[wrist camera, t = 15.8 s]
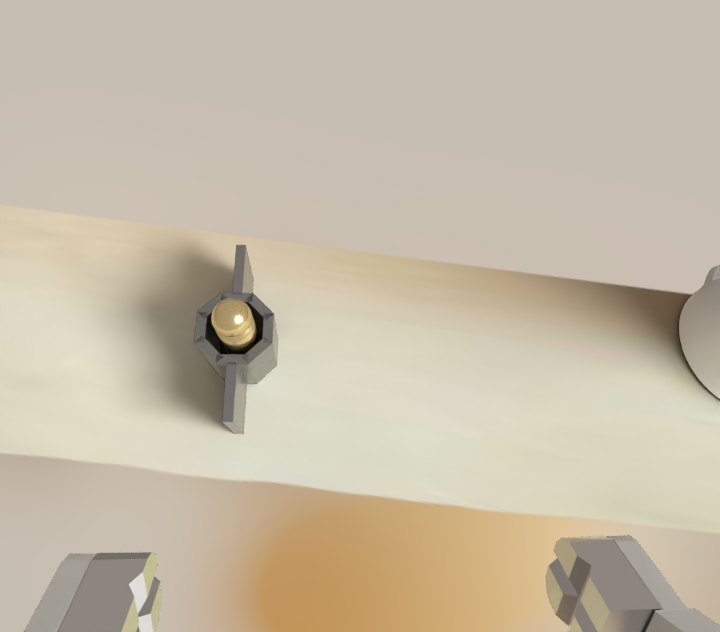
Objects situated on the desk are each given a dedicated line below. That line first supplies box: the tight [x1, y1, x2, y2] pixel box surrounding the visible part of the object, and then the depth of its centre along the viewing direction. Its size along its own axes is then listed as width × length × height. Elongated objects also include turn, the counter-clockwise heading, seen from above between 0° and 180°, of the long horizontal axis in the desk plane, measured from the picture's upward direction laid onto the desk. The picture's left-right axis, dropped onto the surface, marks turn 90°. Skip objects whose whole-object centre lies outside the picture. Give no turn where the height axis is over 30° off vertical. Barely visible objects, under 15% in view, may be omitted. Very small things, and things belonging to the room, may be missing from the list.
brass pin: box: [211, 298, 260, 355], centre depth 40 cm, size 3×3×11 cm
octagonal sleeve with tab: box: [194, 245, 278, 434], centre depth 42 cm, size 6×15×7 cm, turn 1°
